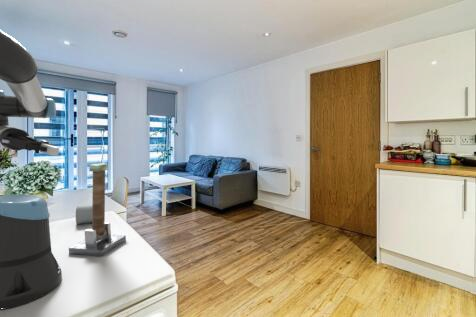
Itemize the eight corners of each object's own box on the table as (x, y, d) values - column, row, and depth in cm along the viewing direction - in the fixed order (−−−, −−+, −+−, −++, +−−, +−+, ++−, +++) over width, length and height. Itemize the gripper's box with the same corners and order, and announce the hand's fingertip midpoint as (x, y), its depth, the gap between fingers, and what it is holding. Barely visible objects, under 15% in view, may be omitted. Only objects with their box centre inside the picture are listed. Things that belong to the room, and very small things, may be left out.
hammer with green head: (97, 243, 81) (98, 165, 79) (88, 242, 82) (88, 164, 79) (108, 237, 86) (109, 164, 83) (99, 236, 87) (99, 163, 84)
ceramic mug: (97, 223, 108) (97, 206, 107) (75, 226, 104) (74, 208, 104) (99, 217, 117) (98, 201, 117) (78, 219, 113) (77, 203, 113)
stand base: (102, 256, 77) (100, 234, 76) (69, 253, 79) (67, 232, 79) (125, 240, 89) (124, 221, 88) (96, 238, 91) (95, 219, 90)
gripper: (31, 149, 93) (74, 162, 85) (-14, 147, 81) (31, 163, 73) (34, 129, 93) (77, 141, 85) (-11, 125, 80) (35, 138, 72)
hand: (56, 151), depth 79 cm, fingers closed
